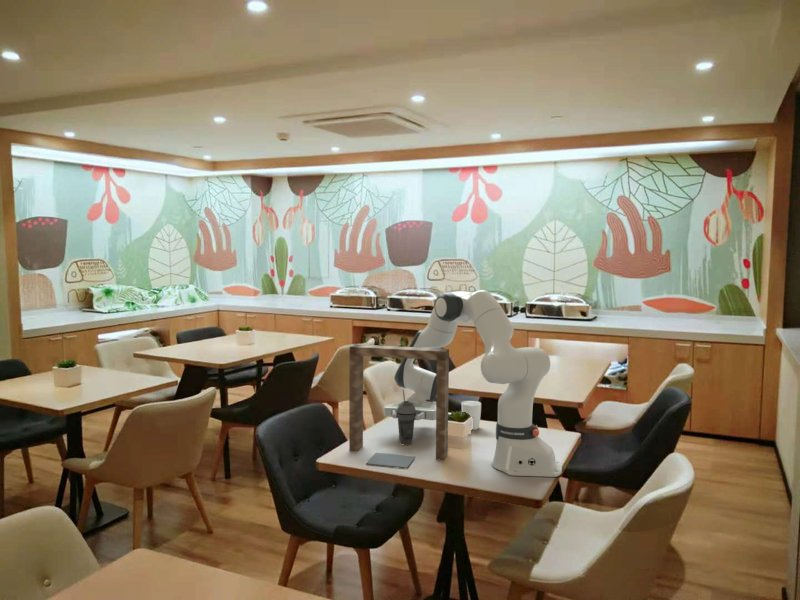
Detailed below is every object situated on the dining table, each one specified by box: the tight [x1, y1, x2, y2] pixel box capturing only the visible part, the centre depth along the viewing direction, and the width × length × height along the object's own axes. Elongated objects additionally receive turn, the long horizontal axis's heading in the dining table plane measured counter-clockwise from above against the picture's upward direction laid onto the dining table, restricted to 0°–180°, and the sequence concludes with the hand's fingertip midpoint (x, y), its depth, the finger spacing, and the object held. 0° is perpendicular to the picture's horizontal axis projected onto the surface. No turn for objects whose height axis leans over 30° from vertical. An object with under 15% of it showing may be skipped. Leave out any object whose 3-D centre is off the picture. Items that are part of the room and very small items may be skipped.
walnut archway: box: [348, 343, 450, 461], centre depth 208 cm, size 34×6×37 cm, turn 75°
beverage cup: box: [396, 388, 416, 446], centre depth 219 cm, size 7×7×20 cm
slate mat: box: [365, 452, 416, 469], centre depth 201 cm, size 14×11×1 cm
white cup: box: [461, 400, 482, 431], centre depth 240 cm, size 8×8×10 cm
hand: (405, 417), depth 218 cm, fingers open, 7 cm apart
